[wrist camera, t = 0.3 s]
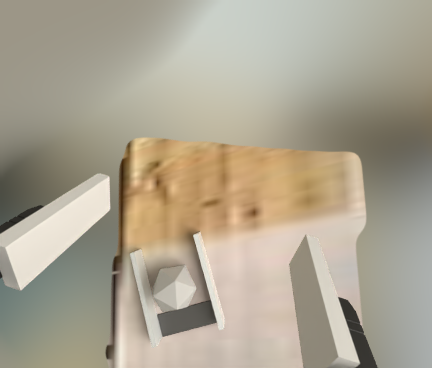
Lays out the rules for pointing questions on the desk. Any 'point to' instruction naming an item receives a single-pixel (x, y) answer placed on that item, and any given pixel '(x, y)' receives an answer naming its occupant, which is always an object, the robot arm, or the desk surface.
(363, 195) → the desk surface
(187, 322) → the grey u-shaped frame
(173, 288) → the die
